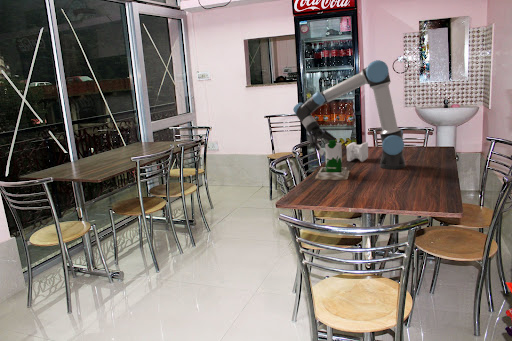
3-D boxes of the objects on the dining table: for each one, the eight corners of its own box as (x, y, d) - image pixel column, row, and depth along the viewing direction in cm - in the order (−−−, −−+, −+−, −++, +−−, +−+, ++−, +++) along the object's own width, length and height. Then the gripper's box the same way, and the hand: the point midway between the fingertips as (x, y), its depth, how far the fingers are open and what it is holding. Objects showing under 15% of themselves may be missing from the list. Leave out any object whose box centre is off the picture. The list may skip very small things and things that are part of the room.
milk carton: (324, 175, 250) (323, 141, 246) (328, 171, 258) (328, 138, 254) (339, 175, 247) (338, 141, 242) (343, 172, 255) (342, 138, 250)
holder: (349, 172, 258) (349, 166, 257) (347, 179, 241) (347, 173, 240) (319, 172, 263) (319, 166, 262) (315, 179, 246) (314, 173, 245)
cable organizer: (361, 163, 282) (361, 145, 279) (346, 162, 287) (345, 145, 285) (368, 158, 294) (368, 141, 292) (353, 157, 300) (353, 141, 297)
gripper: (321, 126, 268) (341, 152, 259) (293, 131, 252) (312, 159, 244) (328, 118, 262) (348, 145, 254) (299, 123, 247) (319, 151, 239)
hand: (331, 152), depth 249 cm, fingers open, 13 cm apart
